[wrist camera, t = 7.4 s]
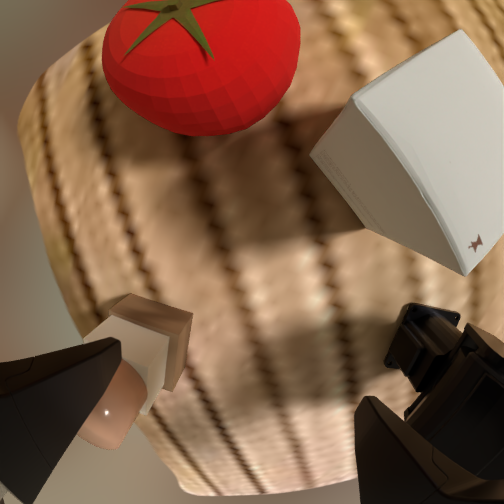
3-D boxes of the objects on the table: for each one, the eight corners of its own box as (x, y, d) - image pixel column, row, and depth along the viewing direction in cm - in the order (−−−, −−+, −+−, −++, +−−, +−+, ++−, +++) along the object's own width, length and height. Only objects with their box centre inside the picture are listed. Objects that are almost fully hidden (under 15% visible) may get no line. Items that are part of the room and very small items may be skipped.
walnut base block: (194, 312, 23) (178, 335, 19) (185, 366, 24) (172, 392, 20) (131, 292, 23) (108, 310, 19) (129, 346, 24) (110, 367, 20)
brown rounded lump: (147, 367, 15) (115, 414, 11) (148, 416, 16) (124, 460, 12) (83, 340, 15) (43, 375, 11) (90, 390, 16) (61, 426, 12)
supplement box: (429, 175, 18) (548, 175, 6) (365, 230, 20) (464, 286, 7) (374, 99, 17) (463, 24, 5) (304, 152, 19) (346, 97, 7)
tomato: (256, 169, 19) (234, 149, 9) (123, 117, 19) (35, 86, 9) (317, 50, 17) (341, -35, 7) (185, 12, 17) (139, -59, 6)
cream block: (169, 336, 19) (148, 367, 15) (164, 384, 20) (146, 415, 16) (111, 314, 19) (83, 338, 15) (112, 362, 20) (88, 388, 16)
